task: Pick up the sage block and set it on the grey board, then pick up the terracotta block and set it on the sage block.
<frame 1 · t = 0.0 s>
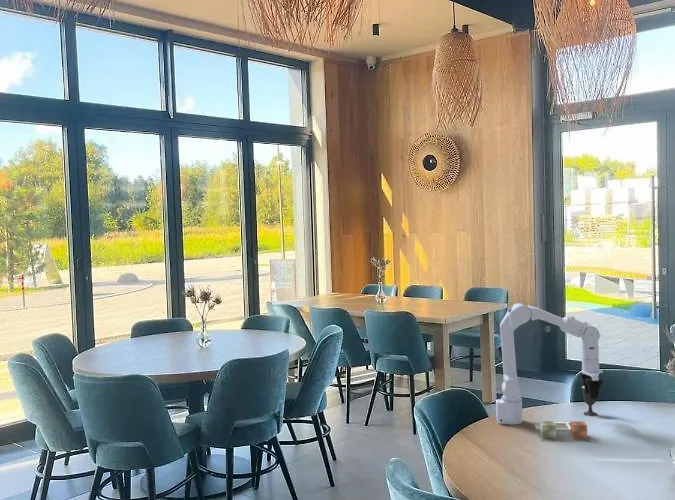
hand: (591, 395, 236), 10 cm above the table, fingers open, 7 cm apart
sundae: (590, 414, 248), on the table
grey board: (560, 434, 226), on the table
sage block: (548, 436, 222), point 1 cm above the table, touching grey board
terracotta block: (578, 436, 220), point 1 cm above the table, touching grey board
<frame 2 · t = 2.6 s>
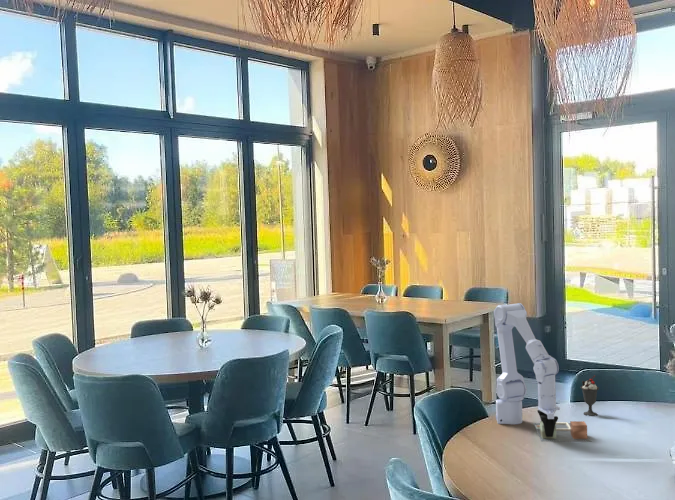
hand: (548, 434, 222), 2 cm above the table, fingers closed on sage block, 4 cm apart
sage block: (548, 436, 222), point 1 cm above the table, touching grey board, gripper
everything else where it was.
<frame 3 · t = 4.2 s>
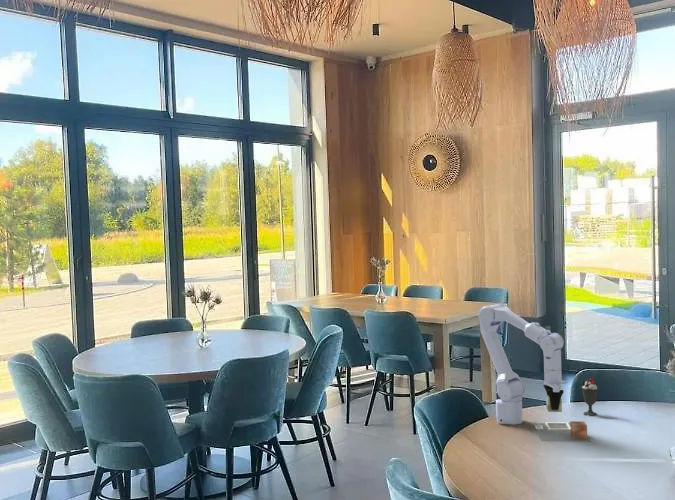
hand: (553, 407, 228), 9 cm above the table, fingers closed on sage block, 4 cm apart
sage block: (554, 410, 228), point 8 cm above the table, touching gripper
everything else where it was.
when the fingers open (3 cm above the table, at t = 6.0 s): sage block drops 1 cm, resting on grey board.
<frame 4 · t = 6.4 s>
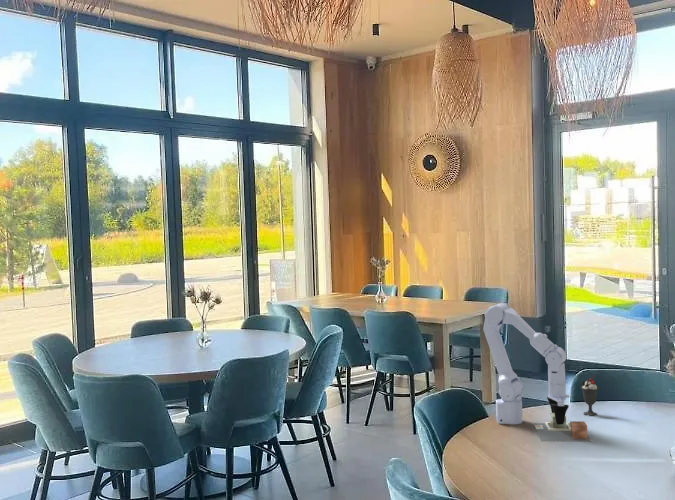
hand: (558, 420, 231), 3 cm above the table, fingers open, 7 cm apart
sage block: (558, 427, 231), point 1 cm above the table, touching grey board
everything else where it was.
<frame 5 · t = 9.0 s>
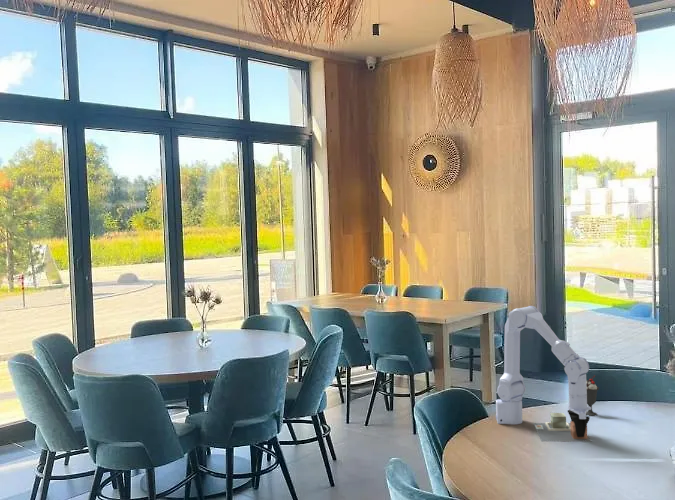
hand: (578, 434, 220), 2 cm above the table, fingers closed on terracotta block, 4 cm apart
terracotta block: (578, 436, 220), point 1 cm above the table, touching grey board, gripper
everything else where it was.
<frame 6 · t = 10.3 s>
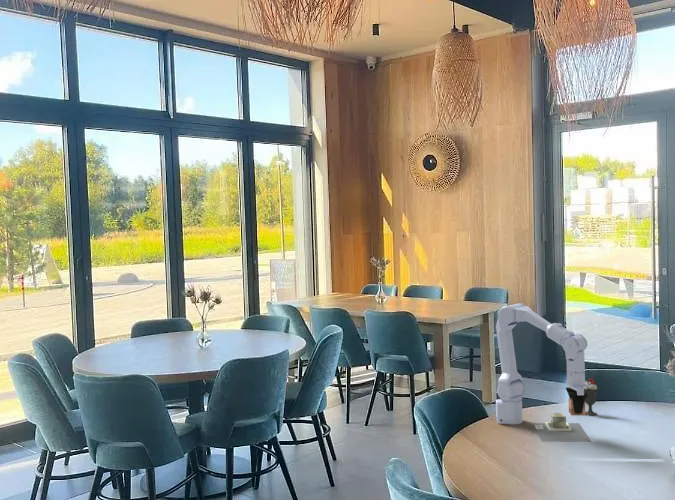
hand: (576, 411, 221), 9 cm above the table, fingers closed on terracotta block, 4 cm apart
terracotta block: (577, 413, 221), point 8 cm above the table, touching gripper
everything else where it was.
when the fingers open (7 cm above the table, at t = 11.8 s): terracotta block drops 1 cm, resting on sage block.
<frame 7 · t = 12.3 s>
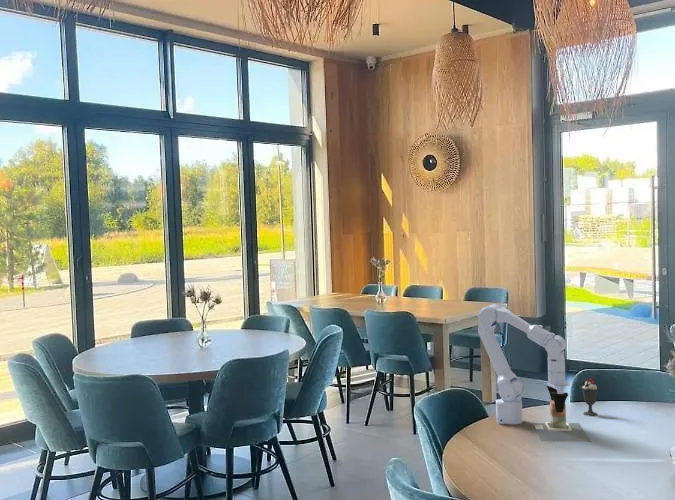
hand: (557, 409, 231), 7 cm above the table, fingers open, 7 cm apart
sage block: (558, 427, 231), point 1 cm above the table, touching grey board, terracotta block
terracotta block: (558, 414, 231), point 5 cm above the table, touching sage block
everything else where it was.
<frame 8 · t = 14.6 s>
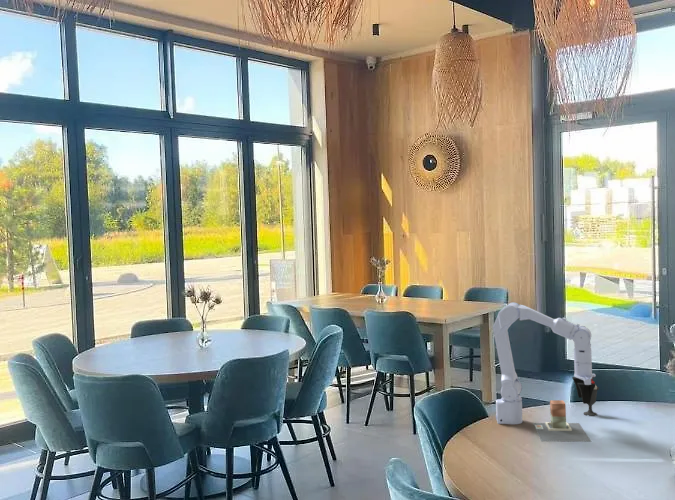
hand: (584, 400, 229), 10 cm above the table, fingers open, 7 cm apart
nothing on the table moved.
at the end: sage block 0.1 cm from the target spot on the grey board, point 0.8 cm above the grey board's base; terracotta block 0.0 cm off-centre on the sage block, point 4.5 cm above the sage block's base; terracotta block tilted 0° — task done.
